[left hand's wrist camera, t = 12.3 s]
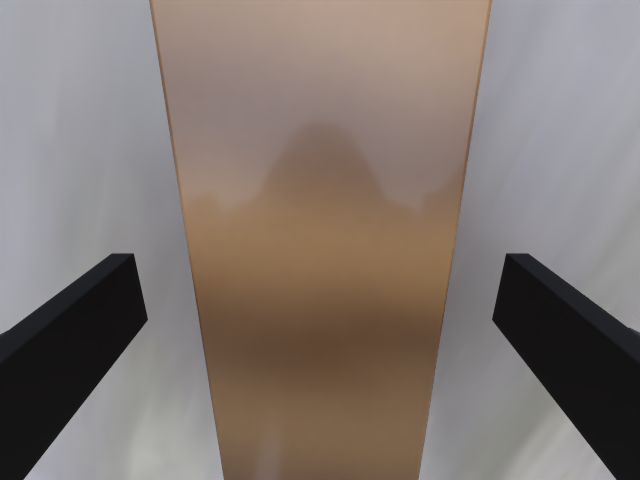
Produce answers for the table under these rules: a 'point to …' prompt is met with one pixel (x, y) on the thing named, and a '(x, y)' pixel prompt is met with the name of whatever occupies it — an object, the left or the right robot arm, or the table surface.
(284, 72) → the beam
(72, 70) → the table surface
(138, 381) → the table surface
